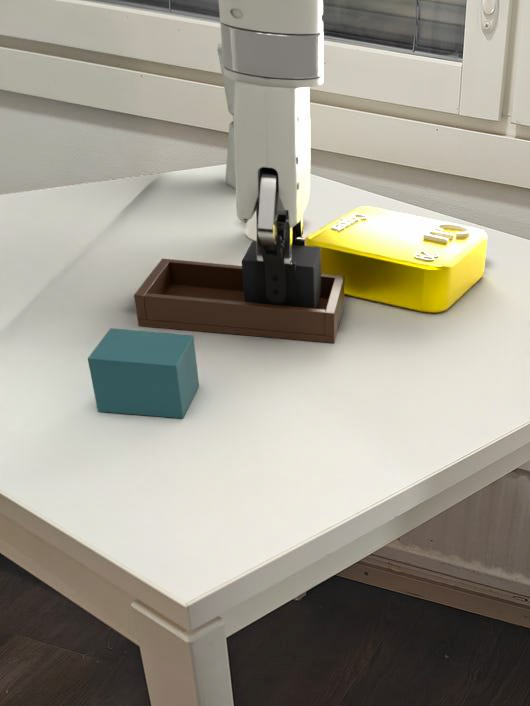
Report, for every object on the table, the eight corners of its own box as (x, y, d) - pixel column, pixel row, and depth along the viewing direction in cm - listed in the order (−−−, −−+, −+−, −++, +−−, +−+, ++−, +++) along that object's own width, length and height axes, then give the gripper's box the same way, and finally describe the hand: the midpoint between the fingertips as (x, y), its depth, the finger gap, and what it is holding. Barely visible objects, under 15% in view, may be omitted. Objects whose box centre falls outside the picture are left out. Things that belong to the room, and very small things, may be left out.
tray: (138, 325, 76) (133, 295, 74) (165, 287, 83) (162, 258, 81) (334, 343, 77) (334, 313, 75) (344, 303, 84) (344, 275, 83)
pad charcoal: (244, 308, 77) (241, 260, 74) (255, 286, 81) (252, 240, 79) (314, 314, 77) (313, 267, 75) (321, 292, 82) (320, 247, 79)
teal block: (97, 411, 64) (87, 358, 61) (119, 379, 68) (110, 327, 65) (182, 418, 64) (176, 365, 62) (199, 385, 68) (193, 335, 66)
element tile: (360, 245, 98) (360, 198, 95) (488, 273, 95) (493, 225, 92) (297, 285, 87) (295, 233, 84) (441, 317, 84) (445, 265, 81)
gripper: (243, 35, 74) (256, 261, 85) (198, 68, 61) (221, 329, 72) (334, 46, 74) (335, 268, 86) (309, 80, 61) (314, 337, 73)
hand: (283, 294), depth 79 cm, fingers closed on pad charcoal, 5 cm apart
